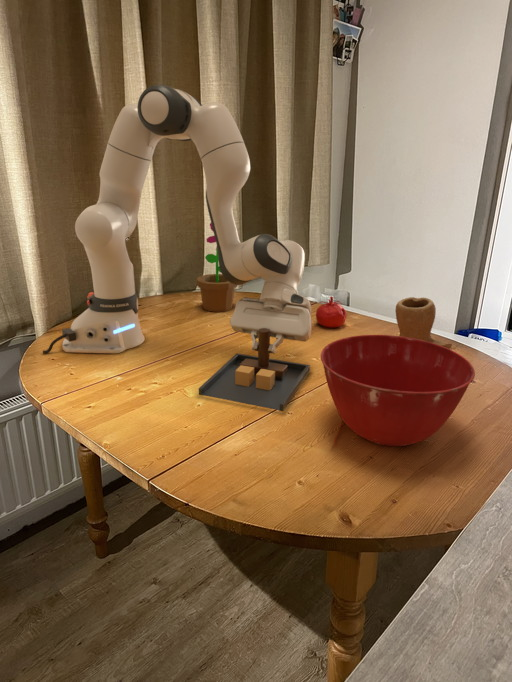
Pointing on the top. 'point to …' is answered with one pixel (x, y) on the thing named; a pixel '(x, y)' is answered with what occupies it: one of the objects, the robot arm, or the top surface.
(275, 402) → the tray
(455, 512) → the top surface
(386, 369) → the mixing bowl
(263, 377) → the bread cube
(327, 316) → the pomegranate
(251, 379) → the bread cube
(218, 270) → the flowerpot
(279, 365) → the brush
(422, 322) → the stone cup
